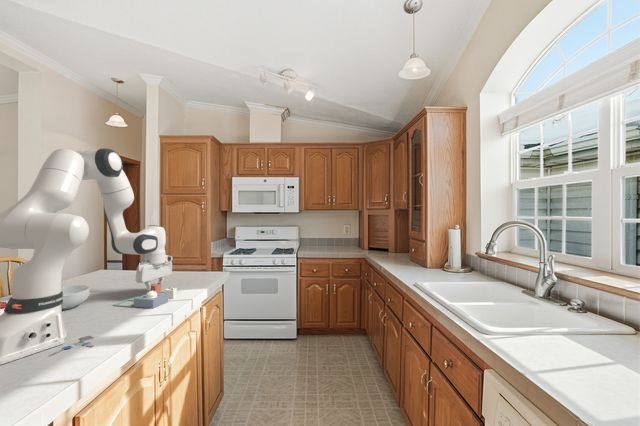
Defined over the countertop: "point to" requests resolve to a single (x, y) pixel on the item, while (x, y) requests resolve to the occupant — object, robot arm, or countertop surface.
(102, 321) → the countertop surface
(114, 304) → the track
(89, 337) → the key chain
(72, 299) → the cereal bowl
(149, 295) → the dome
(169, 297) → the die
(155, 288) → the red cube
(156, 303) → the dome collar
